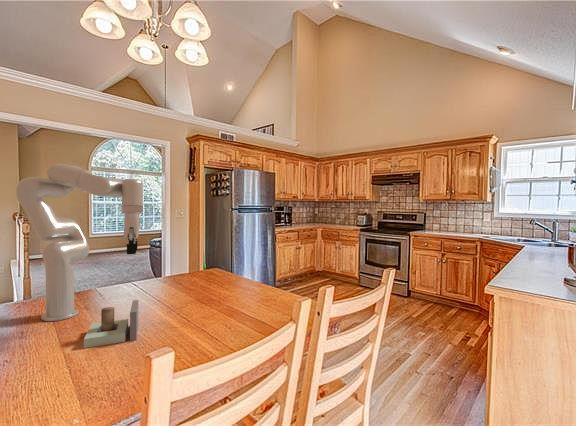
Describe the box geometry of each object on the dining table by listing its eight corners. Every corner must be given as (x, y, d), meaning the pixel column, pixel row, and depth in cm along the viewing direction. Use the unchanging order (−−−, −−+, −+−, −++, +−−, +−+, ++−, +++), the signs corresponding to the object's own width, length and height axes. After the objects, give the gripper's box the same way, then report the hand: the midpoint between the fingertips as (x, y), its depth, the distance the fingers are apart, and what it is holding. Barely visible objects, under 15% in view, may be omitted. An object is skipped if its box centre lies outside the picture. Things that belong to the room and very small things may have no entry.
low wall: (132, 325, 116) (132, 300, 116) (138, 324, 117) (138, 299, 116) (130, 340, 103) (130, 312, 103) (136, 339, 104) (136, 311, 104)
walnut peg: (102, 334, 107) (102, 307, 107) (114, 333, 109) (115, 306, 109) (100, 339, 104) (100, 311, 104) (113, 337, 106) (113, 310, 105)
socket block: (91, 331, 110) (91, 323, 110) (128, 326, 115) (128, 318, 115) (83, 348, 98) (83, 339, 98) (125, 341, 103) (125, 333, 102)
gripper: (123, 209, 125) (123, 249, 126) (119, 210, 110) (119, 256, 110) (143, 209, 128) (143, 248, 129) (141, 210, 113) (141, 255, 113)
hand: (132, 252), depth 119 cm, fingers open, 9 cm apart
